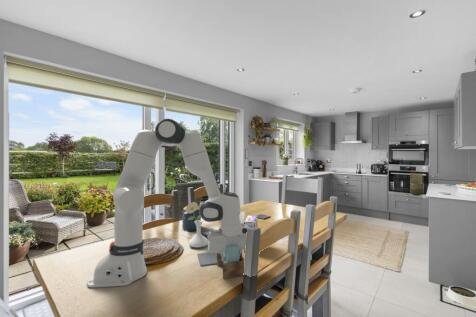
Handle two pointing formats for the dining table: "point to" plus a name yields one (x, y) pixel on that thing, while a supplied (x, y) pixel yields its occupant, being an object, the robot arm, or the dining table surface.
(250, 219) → the candy box
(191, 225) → the canister
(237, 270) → the walnut rack
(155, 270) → the dining table surface
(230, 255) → the teal block
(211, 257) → the slate coaster
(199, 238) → the flower in vase
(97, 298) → the dining table surface
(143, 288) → the dining table surface
